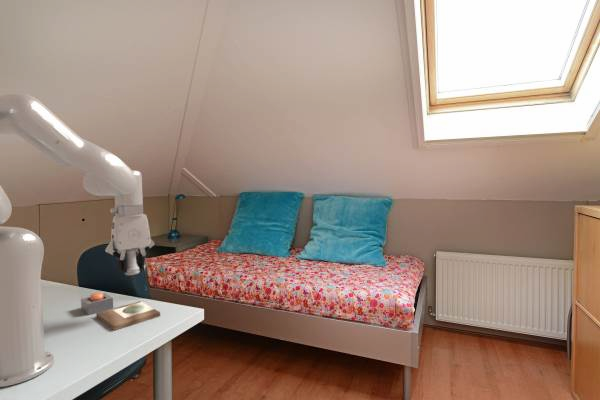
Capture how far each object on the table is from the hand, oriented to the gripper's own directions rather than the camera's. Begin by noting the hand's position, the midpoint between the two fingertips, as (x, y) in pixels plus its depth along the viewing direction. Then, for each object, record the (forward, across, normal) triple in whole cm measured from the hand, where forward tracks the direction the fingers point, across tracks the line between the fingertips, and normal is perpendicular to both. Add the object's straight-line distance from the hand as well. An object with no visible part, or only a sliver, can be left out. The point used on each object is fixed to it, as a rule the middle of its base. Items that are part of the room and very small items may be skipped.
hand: (132, 269), depth 105 cm
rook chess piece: (+1, 0, 0) cm, 1 cm away
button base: (+14, -6, +13) cm, 20 cm away
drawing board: (+14, -2, -1) cm, 14 cm away
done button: (+11, -6, +13) cm, 18 cm away
